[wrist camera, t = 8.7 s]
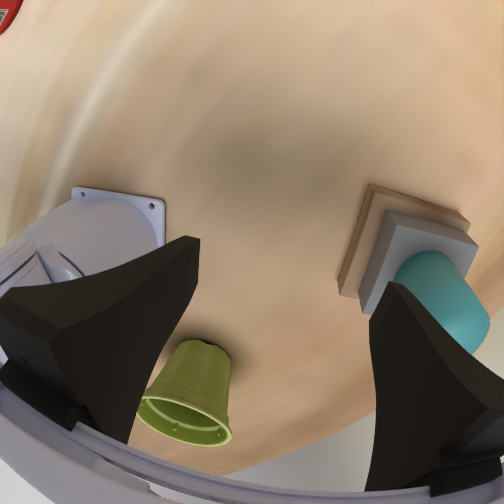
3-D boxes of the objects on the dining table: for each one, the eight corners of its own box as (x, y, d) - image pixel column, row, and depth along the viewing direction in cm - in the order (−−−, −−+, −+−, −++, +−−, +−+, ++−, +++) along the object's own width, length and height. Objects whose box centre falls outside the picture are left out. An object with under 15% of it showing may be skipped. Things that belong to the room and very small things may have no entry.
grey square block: (357, 291, 20) (362, 313, 18) (385, 208, 17) (396, 224, 15) (429, 303, 20) (439, 323, 18) (463, 230, 16) (478, 246, 14)
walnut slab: (336, 276, 23) (339, 295, 21) (367, 181, 19) (375, 192, 17) (419, 293, 22) (427, 311, 20) (456, 210, 18) (470, 223, 16)
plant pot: (264, 374, 29) (251, 445, 22) (199, 388, 33) (178, 447, 25) (212, 315, 26) (182, 391, 19) (147, 339, 30) (113, 399, 22)
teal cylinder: (382, 303, 17) (401, 367, 13) (408, 243, 15) (444, 300, 10) (434, 312, 17) (461, 370, 12) (462, 258, 15) (502, 311, 10)
